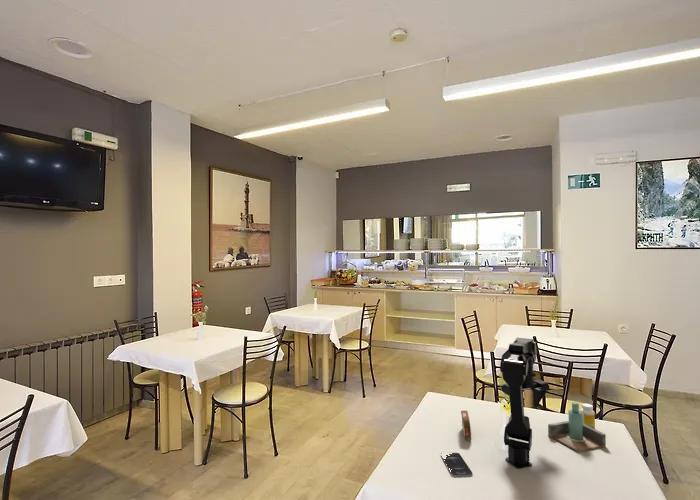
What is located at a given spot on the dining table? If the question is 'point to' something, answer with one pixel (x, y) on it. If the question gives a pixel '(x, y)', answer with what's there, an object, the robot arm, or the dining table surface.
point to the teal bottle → (575, 422)
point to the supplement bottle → (588, 415)
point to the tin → (466, 425)
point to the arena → (589, 442)
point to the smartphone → (457, 465)
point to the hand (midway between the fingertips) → (525, 408)
